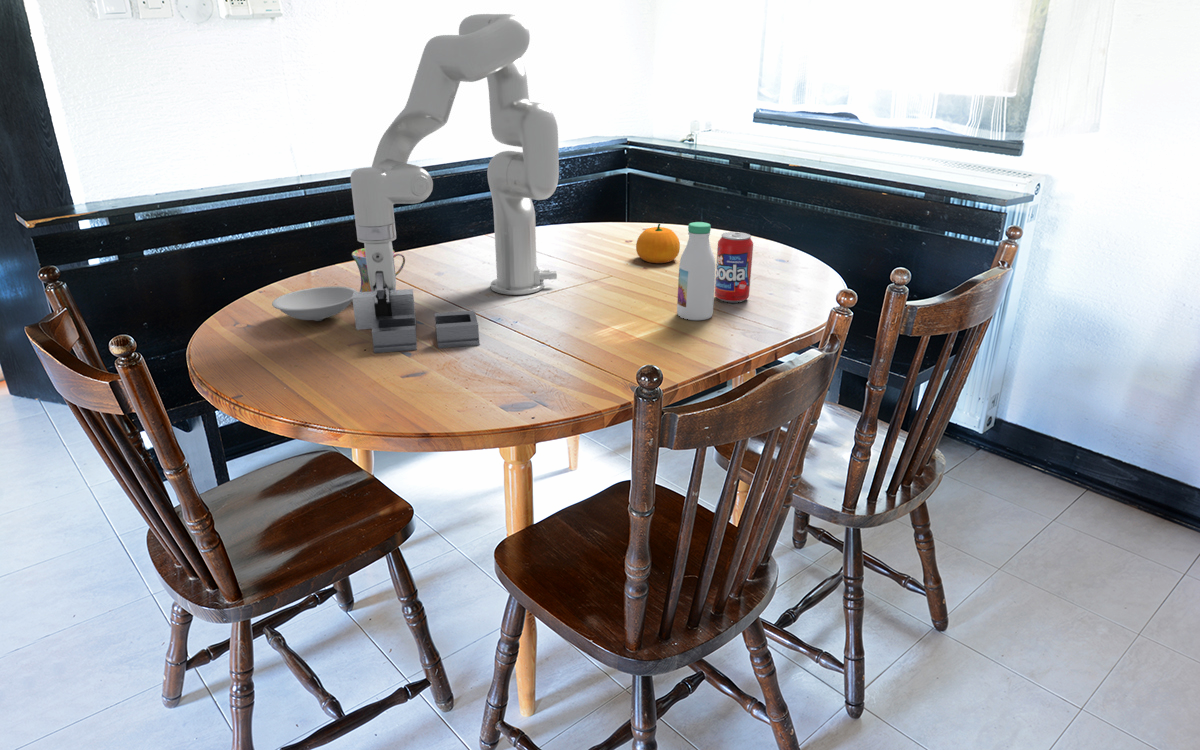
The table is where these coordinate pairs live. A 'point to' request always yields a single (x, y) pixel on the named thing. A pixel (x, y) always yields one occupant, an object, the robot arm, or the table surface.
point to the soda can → (733, 267)
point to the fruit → (658, 245)
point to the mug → (362, 265)
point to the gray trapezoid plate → (366, 310)
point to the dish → (315, 302)
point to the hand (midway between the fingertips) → (385, 314)
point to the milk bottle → (696, 275)
